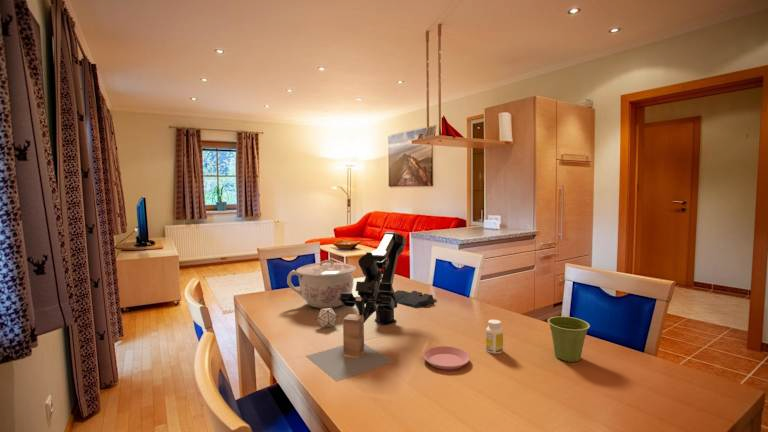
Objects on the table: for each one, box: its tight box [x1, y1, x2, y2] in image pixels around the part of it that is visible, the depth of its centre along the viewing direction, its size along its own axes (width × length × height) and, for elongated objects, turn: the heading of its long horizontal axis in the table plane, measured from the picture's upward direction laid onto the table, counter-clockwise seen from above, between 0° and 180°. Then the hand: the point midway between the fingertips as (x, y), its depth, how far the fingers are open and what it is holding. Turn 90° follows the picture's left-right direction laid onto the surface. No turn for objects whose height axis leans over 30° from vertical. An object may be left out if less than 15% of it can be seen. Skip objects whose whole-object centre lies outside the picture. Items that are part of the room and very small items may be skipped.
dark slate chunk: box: [394, 289, 437, 309], centre depth 183 cm, size 15×22×5 cm
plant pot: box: [547, 315, 591, 363], centre depth 121 cm, size 12×12×11 cm
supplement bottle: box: [485, 319, 504, 355], centre depth 126 cm, size 5×5×10 cm
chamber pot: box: [286, 259, 357, 309], centre depth 178 cm, size 28×28×21 cm
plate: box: [422, 345, 471, 371], centre depth 119 cm, size 14×14×2 cm
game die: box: [314, 306, 339, 330], centre depth 149 cm, size 9×8×10 cm
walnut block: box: [342, 313, 365, 358], centre depth 123 cm, size 5×5×12 cm
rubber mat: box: [305, 343, 395, 382], centre depth 120 cm, size 20×20×1 cm
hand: (361, 324), depth 129 cm, fingers closed
